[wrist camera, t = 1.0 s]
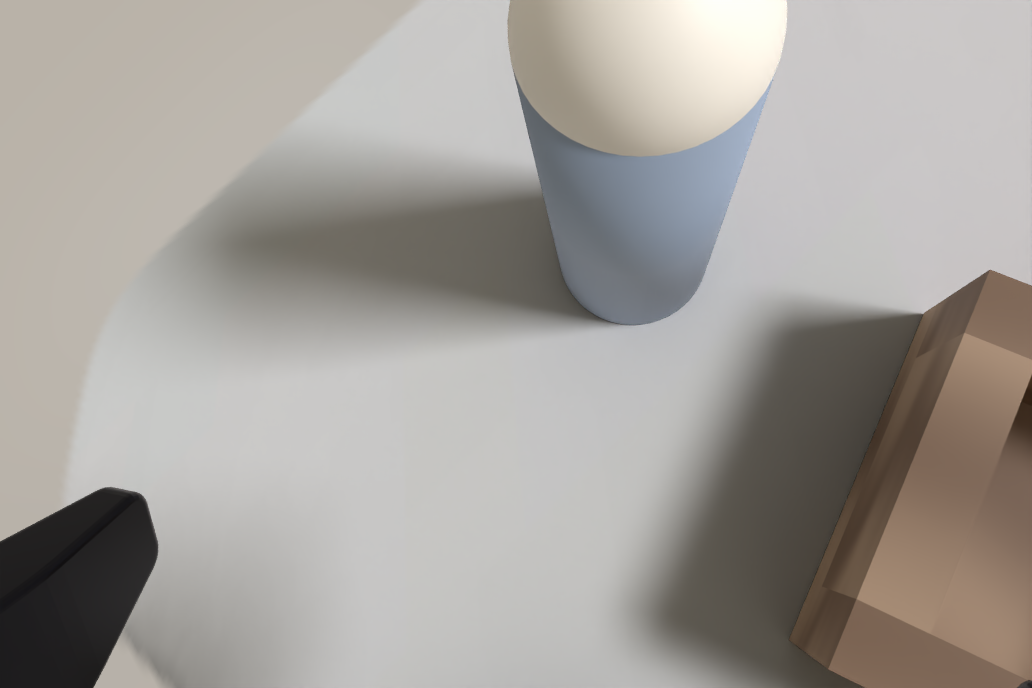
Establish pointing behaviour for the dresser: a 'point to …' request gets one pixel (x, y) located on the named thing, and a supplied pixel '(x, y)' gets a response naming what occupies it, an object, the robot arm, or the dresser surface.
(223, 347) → the dresser surface
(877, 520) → the open wooden box
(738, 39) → the dome-topped blue cylinder
